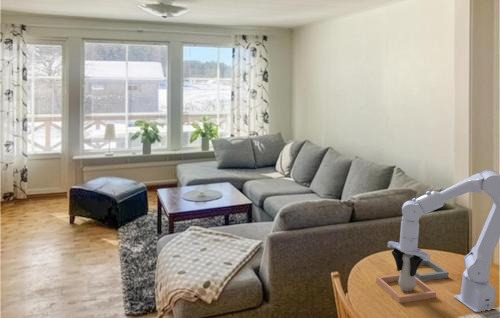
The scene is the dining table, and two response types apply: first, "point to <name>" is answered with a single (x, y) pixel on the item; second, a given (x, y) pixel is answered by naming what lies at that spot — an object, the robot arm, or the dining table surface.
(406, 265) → the salt shaker
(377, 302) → the dining table surface
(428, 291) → the salmon pink square frame
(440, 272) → the grey square frame
